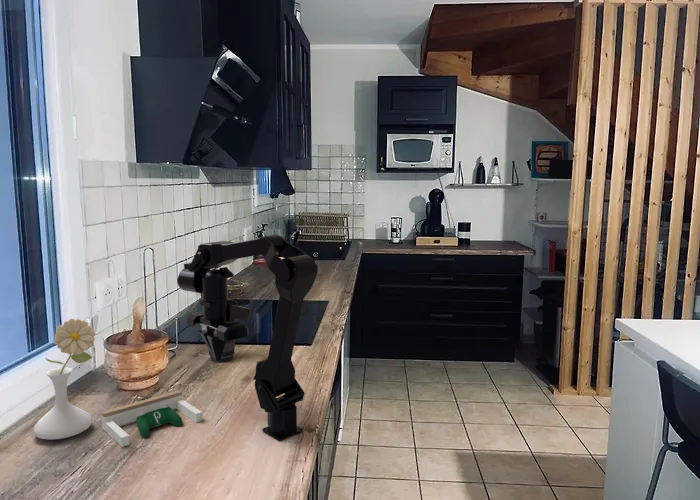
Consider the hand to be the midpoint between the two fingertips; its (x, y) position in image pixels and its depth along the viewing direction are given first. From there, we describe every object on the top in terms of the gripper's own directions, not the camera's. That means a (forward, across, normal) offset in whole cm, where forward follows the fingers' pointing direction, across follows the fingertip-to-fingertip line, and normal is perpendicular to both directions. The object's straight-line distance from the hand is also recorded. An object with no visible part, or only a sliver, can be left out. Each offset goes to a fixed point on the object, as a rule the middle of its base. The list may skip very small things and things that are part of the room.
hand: (217, 360), depth 128 cm
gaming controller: (+12, 0, +15) cm, 19 cm away
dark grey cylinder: (+12, +32, -19) cm, 39 cm away
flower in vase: (+12, +12, +30) cm, 35 cm away
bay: (+12, +2, +15) cm, 19 cm away
